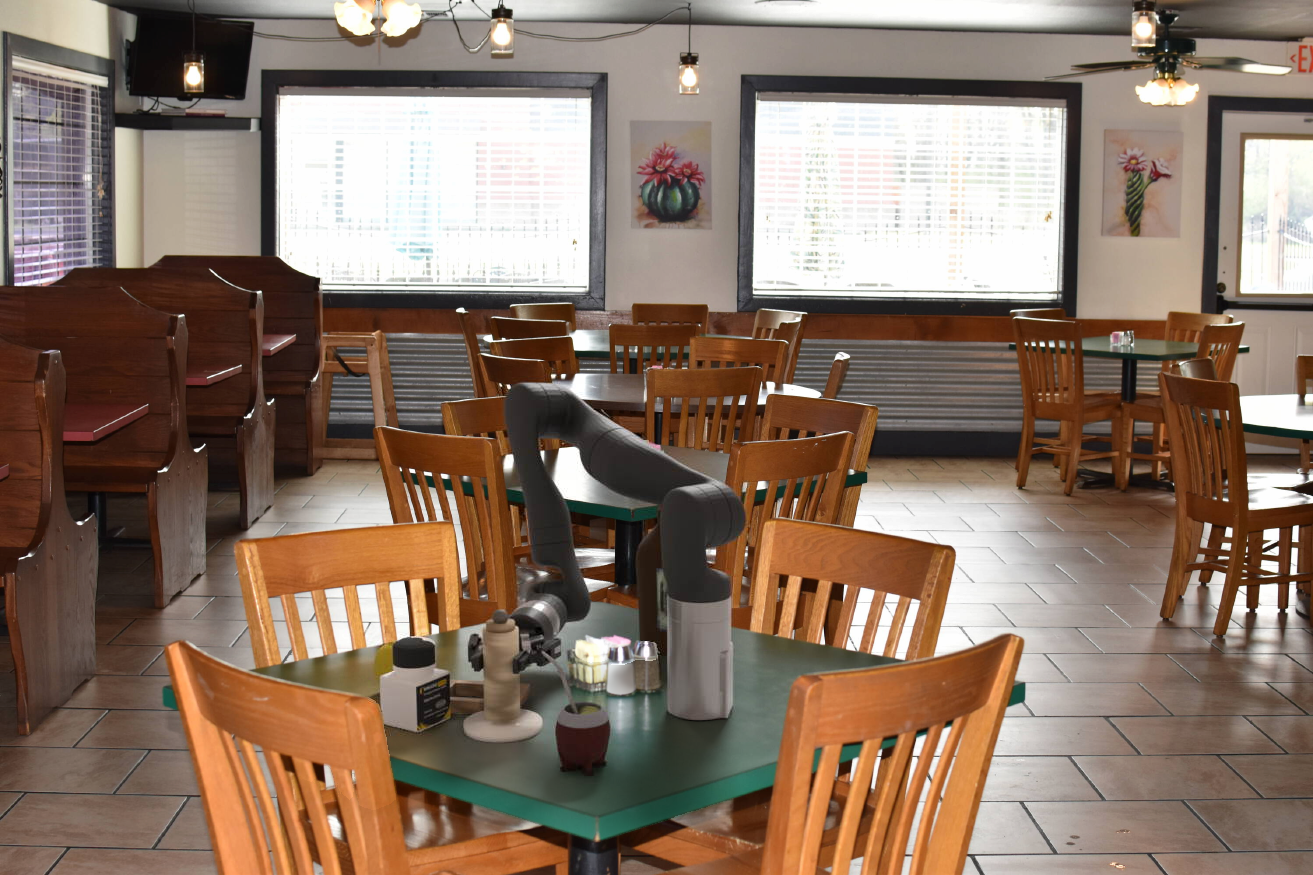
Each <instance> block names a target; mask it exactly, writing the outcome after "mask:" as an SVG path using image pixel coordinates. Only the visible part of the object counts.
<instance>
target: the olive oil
mask: <svg viewBox="0 0 1313 875" xmlns="http://www.w3.org/2000/svg"><path fill="white" fill-rule="evenodd" d="M657 506H658V508H657V510H656V515H657V516H656V518H657V519H656V520H657V522H656V524H655V526H654V527H653V528H652V529H651V530H650V531H649V532H648V533H647V535H645V536H644V538H643V539H642V540H641V541H640V543H639V545H638V546H637V550H636V552H635V573H636V587H637V588H636V589H637V603H638V604H637V606H638V630H639V631H638V633H639V636H638V637H639V642H640V641H650V642H655V643H656V644H657V648H658V651H659V652H660V654H659V655H667V583H666V580H665V577H664V573H663V568H662V550H661V533H660V513H661V507H662V506H660V505H657Z"/></svg>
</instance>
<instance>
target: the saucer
mask: <svg viewBox="0 0 1313 875" xmlns="http://www.w3.org/2000/svg"><path fill="white" fill-rule="evenodd" d="M462 723H463V725H462V726H463V727H462V728H463V729H462V730H463V734H466V736H467V737H468V738H470V739H472V740H475V741H480V742H484V743H485V742H486V743H512V742H518V741H523V740H526V739H530V738H532V737H535V736H536V735H538V734H539V733H540V732H541V731H542V730H543V719H542V716H541V715H540V714H538V713H537V712H535V711H532V710H528V709H524V708H520V716H519V717H518V718H517V719H514V720H511V721H504V722H497V721H490V720H488V719H486V718H485V717H484V711H480V712H477V713H474V714H472V715H469V716H467V717H466V718H465V719H464V720H463V722H462Z"/></svg>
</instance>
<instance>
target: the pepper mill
mask: <svg viewBox="0 0 1313 875" xmlns="http://www.w3.org/2000/svg"><path fill="white" fill-rule="evenodd" d="M508 616H509V614H508V611H506V610H504V609H502V608H499V609H496V610H494V612H493V613H492V615H491V618H490V619H489V620H486V621H485V626H483V628H482V631H481V632H482V639H483V669H482V670H483V671H482V673H483V681H484V717H485V718H486V719H488V720H490V721H497V722H504V721H511V720H514V719H517V718H518V717H519V716H520V709H521V707H520V680H521V678H520V673H519V674H513V665H512V662H513V658H514V657H515V656H516V655H517V654H518V653H519V628H518V627H517V626H515V621H514V620H513V619H509V618H508Z"/></svg>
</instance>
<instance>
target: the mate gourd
mask: <svg viewBox="0 0 1313 875" xmlns="http://www.w3.org/2000/svg"><path fill="white" fill-rule="evenodd" d="M542 654H543V655H544V656H545V657H546V658H547V659H548V660H549V661H551V662H550V663H551V664H553V666H554V667H555V668H556V669H557V671H556V672H557V673H558V676H559V677H560V679H561V681H562V684H563V685H562V686H563V687H564V691H565V693H566V696H567V698H568V701H569V704H566V705H565V706H563V707H562V709H561V710H560V712H559V713H558V715H557V718H556V723H555V732H554V734H555V741H556V749H557V754H558V757H559V760H560V763H561V766H559V771H560V772H561V773H565V772H571V771H579V770H581V771H582V772H583V774H585V776H587V777H593V776H594V771H593V770H592V769H593V768H600V767H605V766H607V764H608V762H607V760H605V759H606V756H607V753H608V752H607V751H608V747H609V742H610V736H611V722H610V719H609V715H608V713H607V711H606V710H605V709H604V707H603V706H602V705H601V704H598V703H596V702H592V701H591V702H590V701H577V702H575V701H574V699H573V696H572V693H571V690H570V687H569V684H568V680H567V678H566V676H565V675H566V673H565V670H564V669H563V668H562V666H561V665H560V664H559V663H558V662H557V661H556V659H555V660H554V659H553V658H551V657H550V656H549V655H548V654H546V653H545V652H544V651H542Z"/></svg>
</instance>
